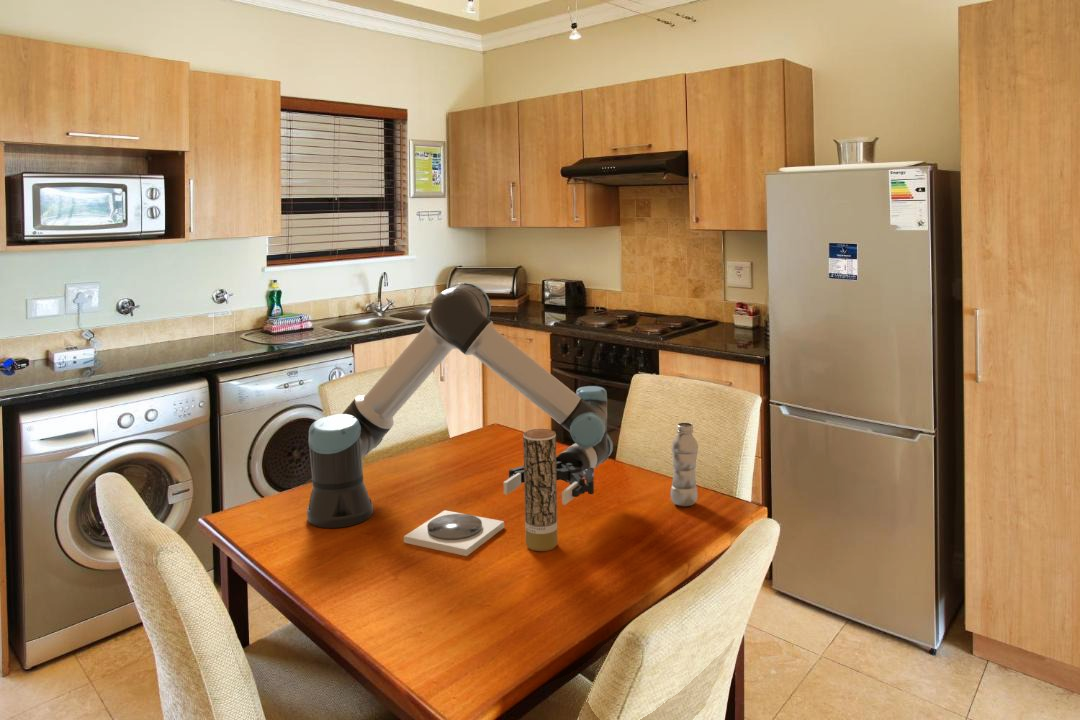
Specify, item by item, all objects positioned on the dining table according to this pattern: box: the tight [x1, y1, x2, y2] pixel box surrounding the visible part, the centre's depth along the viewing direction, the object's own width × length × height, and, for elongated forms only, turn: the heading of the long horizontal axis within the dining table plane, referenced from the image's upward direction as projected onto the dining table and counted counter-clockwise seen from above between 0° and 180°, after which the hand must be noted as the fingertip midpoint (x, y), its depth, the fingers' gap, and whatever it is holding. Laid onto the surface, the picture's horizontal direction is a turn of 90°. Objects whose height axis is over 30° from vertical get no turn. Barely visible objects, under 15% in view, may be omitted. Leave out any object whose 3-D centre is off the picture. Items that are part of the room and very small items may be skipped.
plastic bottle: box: [670, 422, 699, 507], centre depth 183 cm, size 6×7×20 cm
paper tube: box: [522, 428, 558, 552], centre depth 161 cm, size 7×7×25 cm
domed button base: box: [403, 510, 505, 557], centre depth 169 cm, size 16×16×2 cm
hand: (533, 493), depth 158 cm, fingers open, 13 cm apart
